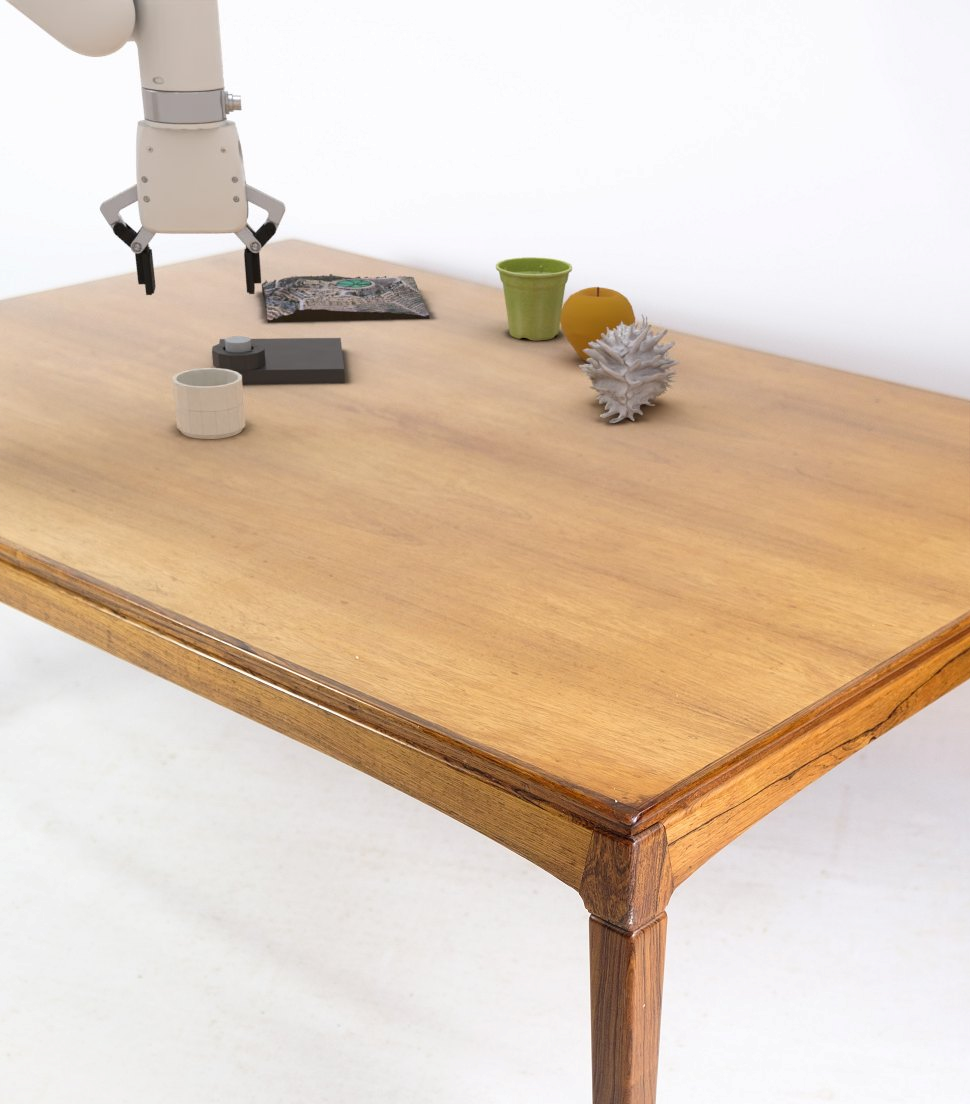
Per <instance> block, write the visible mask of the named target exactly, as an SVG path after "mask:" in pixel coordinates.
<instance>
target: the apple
mask: <svg viewBox="0 0 970 1104" xmlns="http://www.w3.org/2000/svg"><path fill="white" fill-rule="evenodd" d="M621 320H622V322H623V324H624V325H627V326H631V325H632V324H633V323H634V326H635V324H636V316H635V311H634V309H633V306H632V304H631V303H630V301H629V298H627V297H626V296H624V294H622V293H621V292H619V291H617V290H615V289H611V288H607V287H600V286H591V287H587V288H586V287H585V288H583V289H580V290H578V291H576V292H574V293H572V294H570V295H569V297H568V298H567V299H566V300H565V301H564V302H563V305H562V311H561V316H560V328H561V330H562V332H563V334H564V335H565V338H566V339H567V341H568V342H569V344H570V345H571V347H572V348H573V349H574V351H575V353H576V354H577V355H578V356H579V357H580V359H581V360H582V361H584V362H586V364H590V363H589V362H587V361H586V360H587V359H588V358H591V357H590V356H588V355H587V354H586V353H584V352H583V350H584V349H593V348H592V347H591V346H589V344H588V342H589V343H590V342H591V341H593V342H594V343H597V342H596V340H597V339H598V340H603V338H602V336H601V334H602V333H604V335H606V334H607V327H608V328H609V330H611V331H613V328H615V329H616V330H617V327H616V326H619V325H620V324H621Z"/></svg>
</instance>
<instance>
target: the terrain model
mask: <svg viewBox="0 0 970 1104" xmlns="http://www.w3.org/2000/svg"><path fill="white" fill-rule="evenodd" d="M261 294H262V297H263V301H264V305H265V311H266V320H267V323H268V324H270V323H273V324H274V323H277V324H278V323H307V322H308V323H313V322H315V323H317V322H353V321H354V322H355V321H356V322H357V321H393V320H395V321H396V320H398V321H399V320H428V319H430V314H429V312H428V309H427V307H426V305H425V302H424V300H423V298H422V295H421V293H420V290H419V288H418V285H417V282H416V280H415V277H413V276H406V275H403V276H402V275H400V276H387V275H385V276H382V277H380V276H377V277H368V276H364V277H361V276H355V277H346V276H340V275H333V274H331V273H330V274H329V275H317V276H316V275H314V276H313V275H303V276H301V275H300V276H298V275H297V276H296V275H295V276H290V277H284V278H281V279H274V280H271V281H268V280H266V279H265V281H264V282H262V283H261Z"/></svg>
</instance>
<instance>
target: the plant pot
mask: <svg viewBox="0 0 970 1104" xmlns="http://www.w3.org/2000/svg"><path fill="white" fill-rule="evenodd" d="M495 269H496V271H498V273H499V279H500V281H501V283H502V287H503V295H504V301H505V309H506V316H507V324H508V330H509V335H510V336H511V337H512V338H515V339H517V340H521V339H523V338H525V339H527V340H528V341H534V342H536V341H537V342H538V341H549V340H552V339H554V338H555V336H558V335H559V332H560V327H561V323H560V316H561V311H562V308H563V305H564V297H565V290H566V284H567V283H568V280H569V277H570V276H569V275H570V273H571V272H573V271H572V270H573V265H572V264H571V263H569V262H567V261H565V260H561V259H556V258H550V257H536V256H535V257H534V256H533V257H532V256H531V257H529V256H525V257H513V258H508V259H503V260H500V261H498V262H497V263H496V264H495Z"/></svg>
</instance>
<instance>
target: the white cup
mask: <svg viewBox="0 0 970 1104" xmlns="http://www.w3.org/2000/svg"><path fill="white" fill-rule="evenodd" d="M171 380H172V389H173V400H174V401H173V402H174V410H175V411H174V412H175V421H176V422H175V423H176V428H177V429H178V430H179V431H180V433H181V434H183V435H184V436H186V437H188V438H189V437H190V438H193V439H199V440H216V439H218V440H219V439H226V438H230V437H233V436H236V435H239V434H240V433H241V432H243V430H244V428H245V427H246V410H245V395H244V385H243V381H242V375H241V374H239V373H238V372H236V371H232V370H229V369H220V368H216V367H201V368H192V369H187V370H183V371H180V372H177V373H176V374H175V375H173V376H172V379H171Z"/></svg>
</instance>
